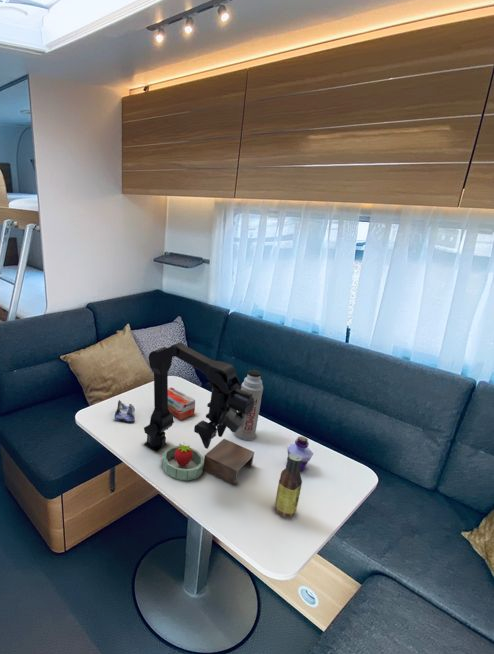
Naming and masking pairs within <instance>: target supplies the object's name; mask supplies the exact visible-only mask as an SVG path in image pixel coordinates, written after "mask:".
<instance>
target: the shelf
mask: <svg viewBox="0 0 494 654" xmlns="http://www.w3.org/2000/svg"><path fill="white" fill-rule="evenodd" d="M254 456H255V451H253V450H251V449H249V448H246V447H244V446H242V445H239V444H237V443H235V442H232V441H230V440H229V439H226V438H222V440H220V442H218V443H217V444H216V445H215V446H213V447H212V448H211V449H210V450H209V451H208V452H206V454H204V456H203V458H204V461H203V471H205V472H206V473H208V474H209V473H210V474H212V475H213V476H215V477H217V478H219V479H221V480H223V481H225V482H227V483H229V484H231V485H232V486H235V485H236V483H237V477H238V472H239V471H241V469H242V468H243V467H244V466H246V467H250V468H252V467H253V463H254V458H255V457H254Z"/></svg>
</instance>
